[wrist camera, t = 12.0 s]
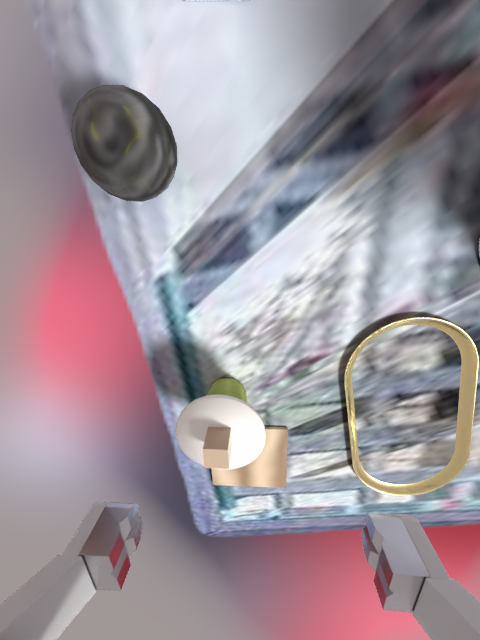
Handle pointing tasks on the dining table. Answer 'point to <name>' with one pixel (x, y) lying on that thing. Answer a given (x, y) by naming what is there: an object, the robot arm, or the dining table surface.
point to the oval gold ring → (464, 410)
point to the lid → (220, 432)
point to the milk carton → (217, 0)
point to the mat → (260, 464)
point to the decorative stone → (124, 143)
